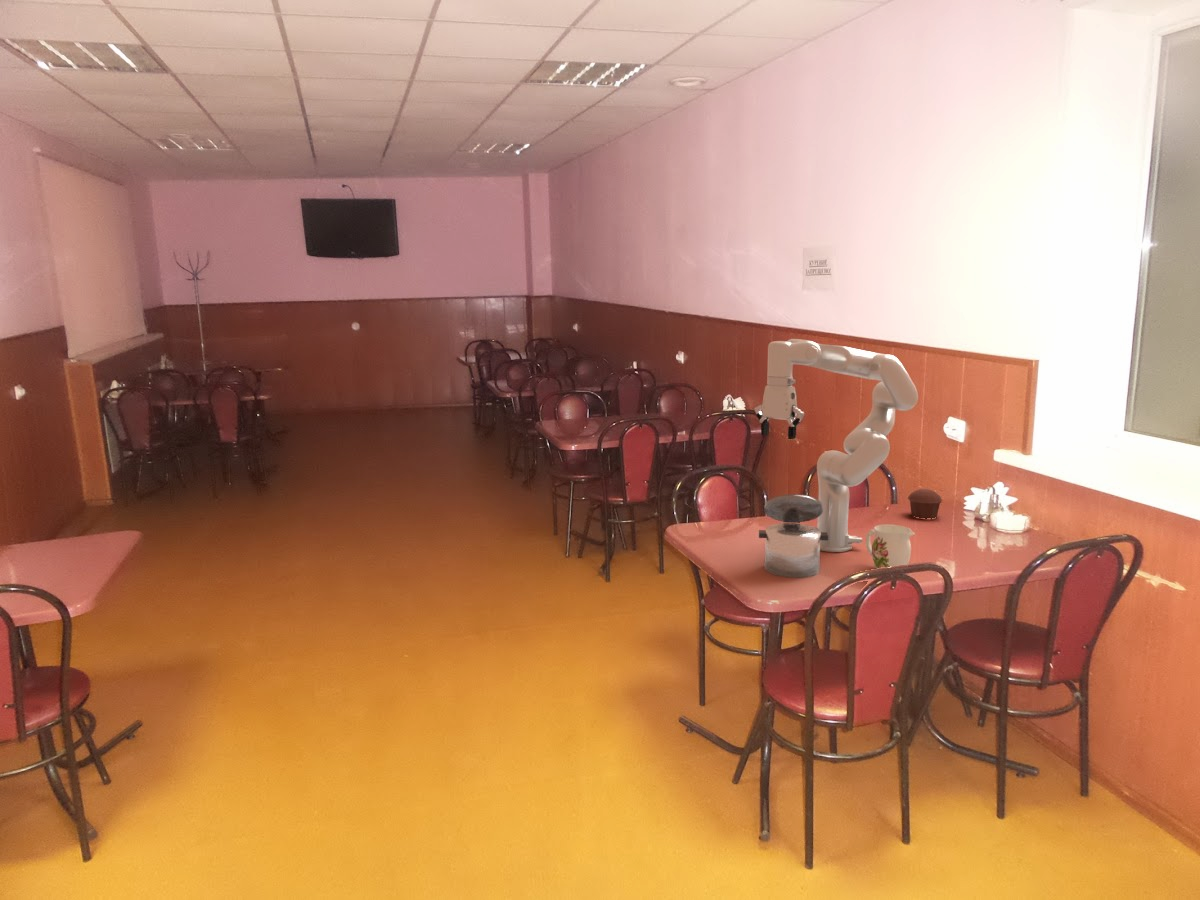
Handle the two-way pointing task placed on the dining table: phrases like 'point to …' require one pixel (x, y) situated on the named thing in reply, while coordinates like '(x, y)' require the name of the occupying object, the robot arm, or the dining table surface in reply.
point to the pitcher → (889, 545)
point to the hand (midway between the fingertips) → (778, 436)
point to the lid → (793, 508)
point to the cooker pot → (792, 549)
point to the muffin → (924, 503)
